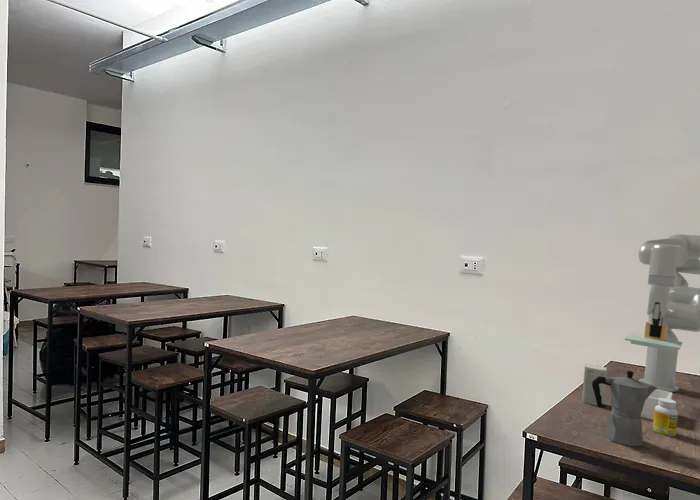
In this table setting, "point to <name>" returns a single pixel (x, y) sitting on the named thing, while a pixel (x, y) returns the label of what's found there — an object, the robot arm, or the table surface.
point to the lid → (654, 339)
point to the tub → (653, 403)
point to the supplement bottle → (665, 417)
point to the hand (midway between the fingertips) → (655, 335)
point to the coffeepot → (624, 407)
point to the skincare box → (590, 375)
